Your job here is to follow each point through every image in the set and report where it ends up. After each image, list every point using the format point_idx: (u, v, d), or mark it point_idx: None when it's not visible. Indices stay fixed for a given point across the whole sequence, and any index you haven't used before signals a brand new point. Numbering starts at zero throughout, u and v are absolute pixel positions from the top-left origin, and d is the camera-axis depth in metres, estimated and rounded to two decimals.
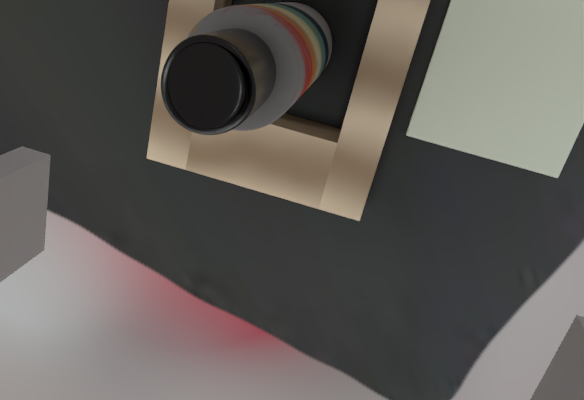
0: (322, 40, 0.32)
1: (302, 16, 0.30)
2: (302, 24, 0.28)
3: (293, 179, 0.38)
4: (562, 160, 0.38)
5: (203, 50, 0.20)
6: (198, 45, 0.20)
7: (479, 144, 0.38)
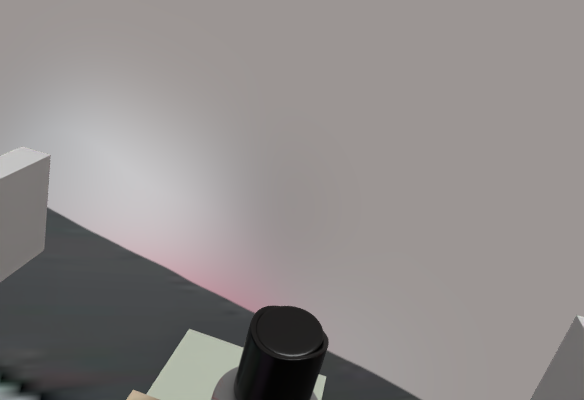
0: None
1: None
2: None
3: None
4: None
5: (262, 327, 0.25)
6: (258, 330, 0.25)
7: None
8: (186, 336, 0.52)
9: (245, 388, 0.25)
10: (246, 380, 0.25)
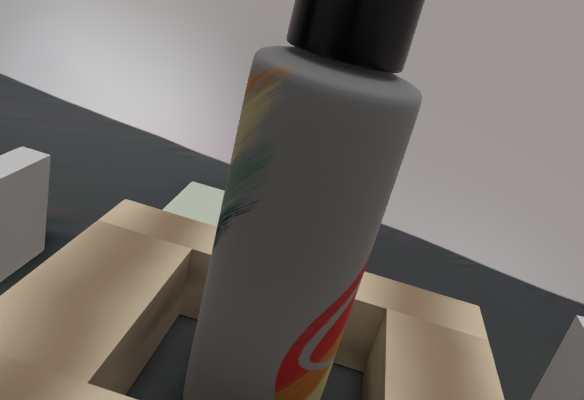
0: None
1: None
2: None
3: (460, 359, 0.24)
4: None
5: None
6: None
7: None
8: (189, 186, 0.42)
9: (312, 9, 0.16)
10: None
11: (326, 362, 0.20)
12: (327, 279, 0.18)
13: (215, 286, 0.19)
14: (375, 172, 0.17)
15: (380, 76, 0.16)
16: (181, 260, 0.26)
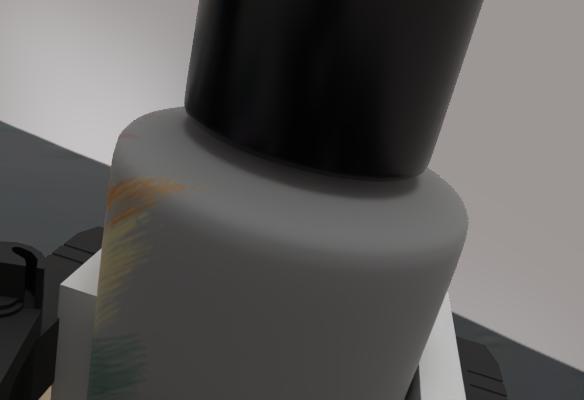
0: None
1: None
2: None
3: None
4: None
5: None
6: None
7: None
8: None
9: (220, 45, 0.07)
10: (222, 10, 0.07)
11: None
12: None
13: None
14: (372, 396, 0.08)
15: (380, 187, 0.07)
16: None
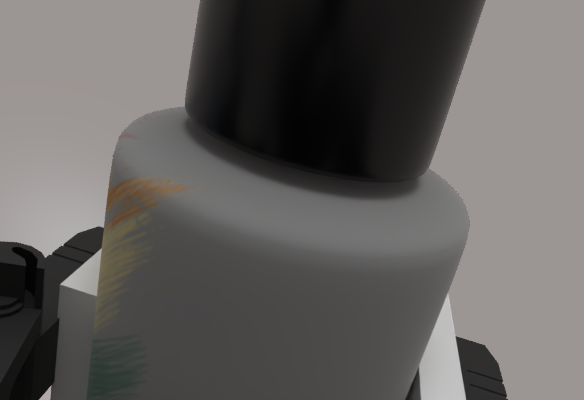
0: None
1: None
2: None
3: None
4: None
5: None
6: None
7: None
8: None
9: (220, 46, 0.07)
10: (223, 10, 0.07)
11: None
12: None
13: None
14: (373, 397, 0.08)
15: (381, 188, 0.07)
16: None
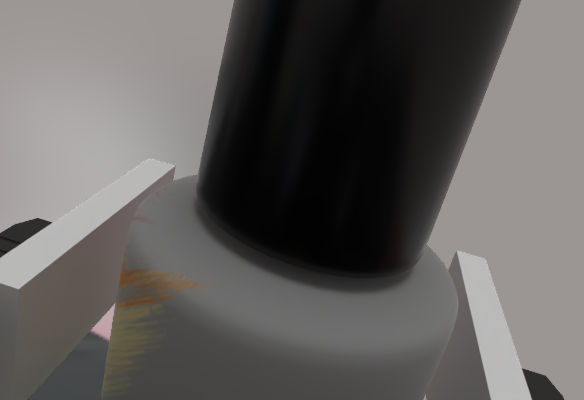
0: None
1: None
2: None
3: None
4: None
5: None
6: None
7: None
8: None
9: (232, 151, 0.07)
10: (236, 120, 0.07)
11: None
12: None
13: None
14: None
15: (377, 279, 0.08)
16: None
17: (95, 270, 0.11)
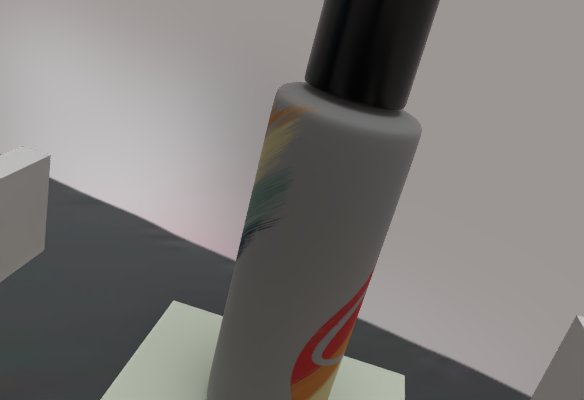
0: None
1: None
2: None
3: None
4: (382, 371, 0.31)
5: None
6: None
7: None
8: (168, 312, 0.31)
9: (327, 56, 0.18)
10: (329, 44, 0.18)
11: (336, 359, 0.23)
12: (338, 286, 0.20)
13: (239, 291, 0.22)
14: (380, 195, 0.19)
15: (385, 113, 0.19)
16: None
17: None
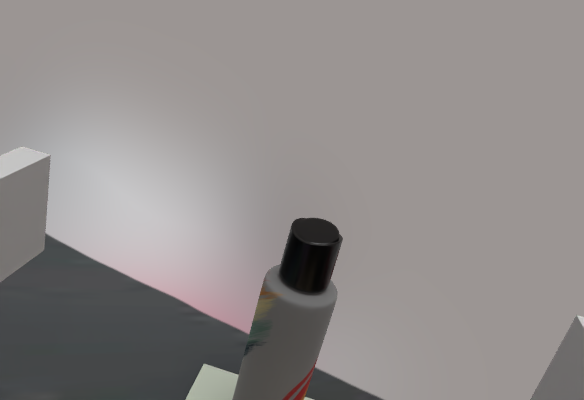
0: None
1: None
2: None
3: None
4: None
5: (299, 228, 0.39)
6: (296, 230, 0.38)
7: None
8: (201, 372, 0.51)
9: (288, 269, 0.39)
10: (289, 263, 0.39)
11: None
12: (296, 374, 0.41)
13: (246, 373, 0.42)
14: (315, 332, 0.39)
15: (317, 292, 0.39)
16: None
17: None
